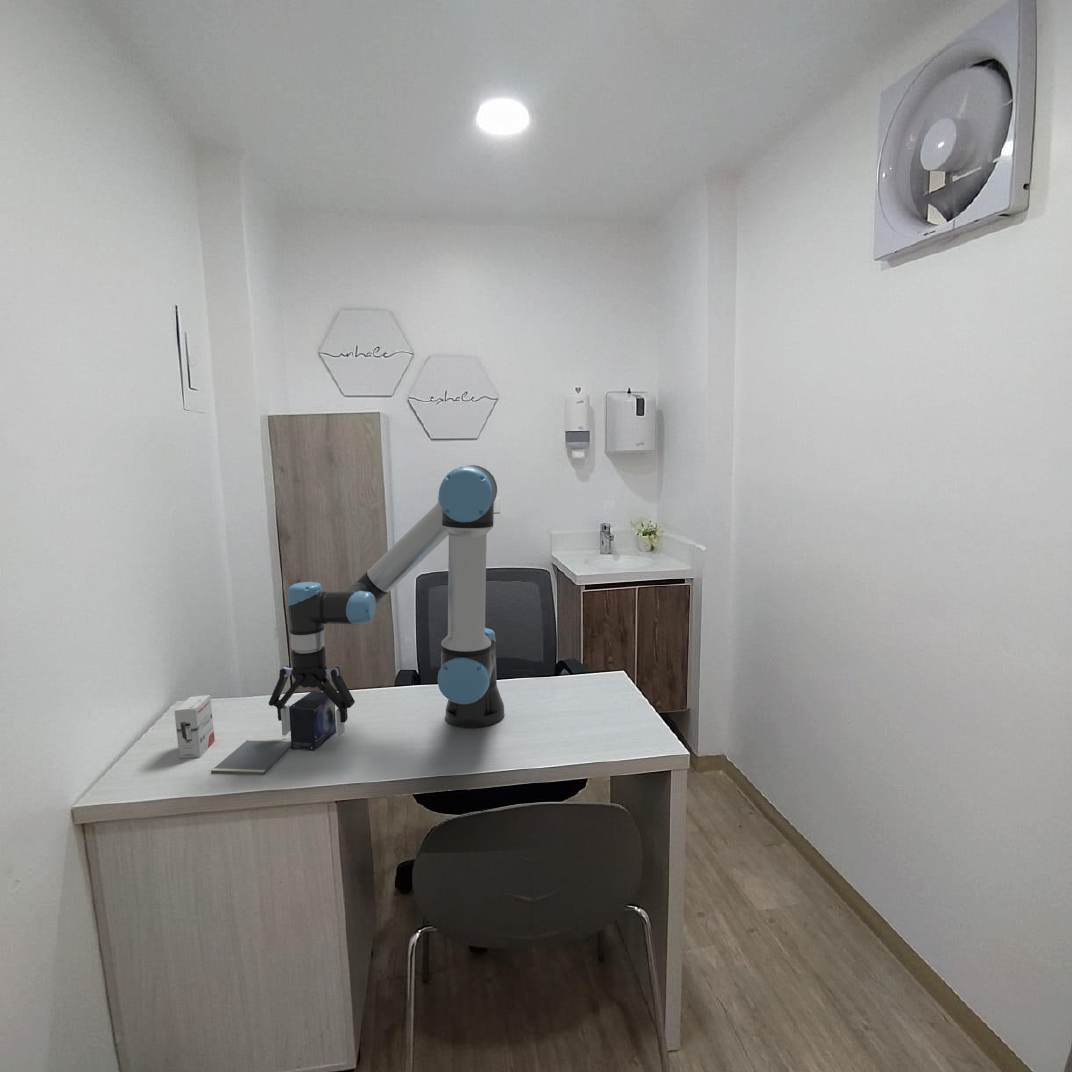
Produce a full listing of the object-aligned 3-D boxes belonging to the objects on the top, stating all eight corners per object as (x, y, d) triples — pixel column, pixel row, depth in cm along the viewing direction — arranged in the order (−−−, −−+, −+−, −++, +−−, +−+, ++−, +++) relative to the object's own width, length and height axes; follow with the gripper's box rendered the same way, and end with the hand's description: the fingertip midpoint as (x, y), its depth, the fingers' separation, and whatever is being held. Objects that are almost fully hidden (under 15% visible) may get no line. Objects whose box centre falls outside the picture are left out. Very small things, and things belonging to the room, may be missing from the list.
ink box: (194, 741, 155) (190, 695, 153) (215, 740, 155) (211, 694, 154) (178, 759, 146) (172, 709, 145) (200, 757, 147) (195, 708, 145)
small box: (315, 752, 148) (312, 708, 147) (290, 749, 150) (286, 707, 148) (338, 732, 159) (335, 691, 157) (314, 730, 160) (311, 690, 158)
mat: (296, 742, 153) (295, 740, 153) (263, 774, 138) (263, 771, 138) (248, 741, 154) (248, 738, 154) (211, 773, 139) (210, 770, 139)
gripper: (365, 644, 153) (369, 728, 156) (265, 642, 156) (271, 725, 159) (353, 654, 146) (358, 742, 149) (249, 652, 148) (256, 739, 151)
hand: (313, 733), depth 154 cm, fingers open, 13 cm apart
